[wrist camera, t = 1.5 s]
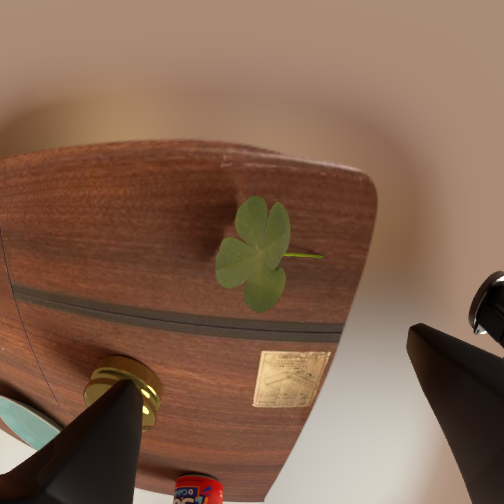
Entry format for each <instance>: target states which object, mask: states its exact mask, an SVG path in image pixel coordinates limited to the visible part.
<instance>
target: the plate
mask: <svg viewBox="0 0 504 504" xmlns="http://www.w3.org/2000/svg"><path fill="white" fill-rule="evenodd" d="M0 417H1V418H2V420H3V421H4V422H5V423H6V424H7V426H8V427H9V428H10V429H11V430H12V431H13V432H15V433H16V434H17V435H18V436H19V437H20V438H21V439H23V440H24V441H25V442H26V443H28V444H29V445H30V446H32V447H33V448H34V449H36V450H37V451H39V450H40V449H41V448H42V447H44V446H45V445H46V444H47V443H48V442H49V441H50V440H52V439H53V438H54V437H55V436H56V435H57V434H59V433H60V432H61V431H62V430H63V428H62V427H60V426H59V425H58V424H57V423H55V422H54V421H53V420H51V419H50V418H48V417H47V416H46V415H44V414H43V413H41V412H39V411H38V410H36V409H34V408H33V407H31V406H29V405H27V404H25V403H22V402H19V401H16V400H13V399H10V398H8V397H5V396H2V395H0Z"/></svg>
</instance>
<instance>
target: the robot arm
mask: <svg viewBox="0 0 504 504" xmlns="http://www.w3.org/2000/svg"><path fill="white" fill-rule="evenodd" d="M485 331H486V332H487V333H488V334H489V335H490V336H491V337H492V338H493V339H494V340H495V341H496V342H498V343H499V344H500V345H501V346H502V347H503V348H504V282H501V283H497V284H493V285H490V286H489V288H488V290H487V293H486V297H485V300H484V303H483V306H482V309H481V312H480V315H479V318H478V320H477V323H476V326H475V328H474V333H475V334H476V335H477V334H480V333H482V332H485ZM406 348H407V353H408V355H409V358H410V360H411V363H412V365H413V367H414V370H415V372H416V375H417V378H418V380H419V383H420V385H421V388H422V390H423V392H424V394H425V396H426V398H427V400H428V402H429V404H430V406H431V408H432V410H433V412H434V414H435V416H436V418H437V420H438V422H439V424H440V426H441V428H442V431H443V433H444V435H445V437H446V439H447V441H448V444H449V446H450V448H451V450H452V453H453V455H454V457H455V460H456V462H457V464H458V467H459V469H460V472H461V474H462V477H463V479H464V482H465V485H466V488H467V490H468V493H469V496H470V499H471V501H472V504H504V358H501V357H498V356H496V355H494V354H492V353H489V352H487V351H485V350H482V349H480V348H478V347H476V346H473V345H471V344H469V343H466V342H464V341H462V340H460V339H457V338H455V337H453V336H450V335H448V334H446V333H443V332H441V331H439V330H436V329H434V328H432V327H430V326H427V325H425V324H423V323H419V324H416V325H414V326H411V327H410V329H409V332H408V339H407V345H406ZM143 404H144V398H143V395H142V393H141V392H140V390H139V389H138V387H137V386H136V384H135V383H134V381H133V380H131V379H120V380H119V381H117V382H116V383H115V384H114V385H113V386H112V387H111V388H110V389H108V390H107V391H106V392H105V393H104V394H103V395H102V396H101V397H99V398H98V399H97V400H96V401H95V402H94V403H93V404H92V405H90V406H89V407H88V408H87V409H86V410H85V411H84V412H82V413H81V414H80V415H79V416H78V417H77V418H76V419H75V420H73V421H72V422H71V423H70V424H69V425H68V426H67V427H65V428H64V429H63V430H62V431H61V432H60V433H59V434H57V435H56V436H55V437H54V438H53V439H52V440H50V441H49V442H48V443H47V444H46V445H45V446H44V447H42V448H41V449H40V450H39V451H37V452H36V453H35V454H33V455H32V456H31V457H29V458H28V459H27V460H25V461H24V462H22V463H21V464H19V465H18V466H17V467H15V468H14V469H12V470H11V471H9V472H8V473H5V474H1V475H0V504H133V495H134V487H135V478H136V471H137V464H138V457H139V450H140V444H141V435H142V419H143Z"/></svg>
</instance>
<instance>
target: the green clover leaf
mask: <svg viewBox="0 0 504 504" xmlns="http://www.w3.org/2000/svg"><path fill="white" fill-rule="evenodd" d="M266 221H267V224H266ZM265 225H266V228H265ZM235 227H236V230H237V233H238V234H239V236H240V237H241V238H242V240H243V241H244V242H246V243H247V244H245V243H244V242H242V241H240V240H239V239H236V238H233V237H227V238H225V239H224V240H223V241H222V242H221V245H220V250H219V253H218V254H217V256H216V261H215V267H216V268H215V272H216V279H217V281H218V283H219V284H220V285H221V286H223V287H224V288H228V289H229V288H234V287H237V286H239V285H242V283H244V282H246V280H247V282H246V283H245V288H244V300H245V302H246V304H247V305H248V306H249V307H250V308H251V309H252V310H253V311H255V312H257V313H262V312H264V311H267V310H268V309H270V308H271V307H273V306H274V305H275V303H276V302H277V301H278V300H279V298H280V296H281V294H282V292H283V289H284V286H285V281H286V275H285V273H284V270H283V269H282V268H281V266H279V265H278V264H279V263H280V260H281V259H282V257H283V256H299V257H312V258H323V255H312V254H300V253H285V252H286V250H287V249H288V246H289V243H290V219H289V215H288V212H287V210H286V208H285V207H284V206H283V204H281V203H279V202H276V203H275V204H274V205H273V206H272V209H271V210H270V213H269V217H268V219H267V205H266V202H265V201H264V199H263V198H261V197H259V196H251V197H250V198H249V199H248V200H247V201H245V202H244V203H242V204H241V206H240V207H239V209H238V211H237V214H236V219H235ZM264 231H265V232H264ZM248 245H249V246H248Z"/></svg>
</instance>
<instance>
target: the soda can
mask: <svg viewBox="0 0 504 504" xmlns="http://www.w3.org/2000/svg"><path fill="white" fill-rule="evenodd" d="M173 504H223V485H222V483H221V482H219V481H217V480H216V479H214V478H212V477H209V476H205V475H199V474H188V475H185V476H181V477H178V478H177V480H176V485H175V492H174V500H173Z"/></svg>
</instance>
